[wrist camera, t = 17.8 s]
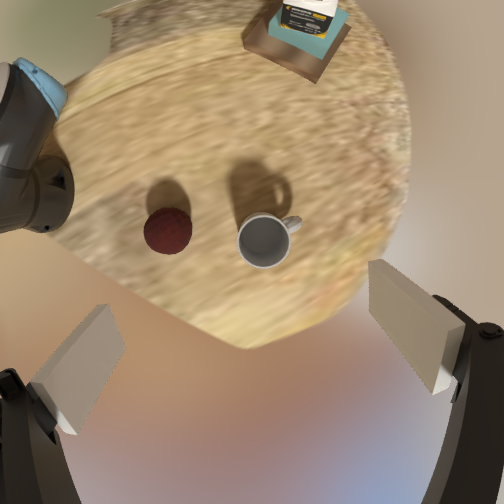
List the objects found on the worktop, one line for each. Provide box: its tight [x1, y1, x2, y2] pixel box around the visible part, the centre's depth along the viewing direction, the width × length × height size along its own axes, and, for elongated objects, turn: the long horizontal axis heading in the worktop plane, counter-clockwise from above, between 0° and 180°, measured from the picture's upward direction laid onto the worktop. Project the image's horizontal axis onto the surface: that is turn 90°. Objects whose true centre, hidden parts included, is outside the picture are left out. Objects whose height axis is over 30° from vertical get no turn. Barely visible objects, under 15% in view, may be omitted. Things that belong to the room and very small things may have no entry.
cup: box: [237, 212, 302, 269], centre depth 43 cm, size 7×10×9 cm
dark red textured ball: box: [144, 208, 192, 255], centre depth 43 cm, size 7×8×7 cm
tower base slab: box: [244, 0, 351, 84], centre depth 39 cm, size 14×14×4 cm
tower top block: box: [268, 7, 349, 60], centre depth 35 cm, size 10×10×4 cm
